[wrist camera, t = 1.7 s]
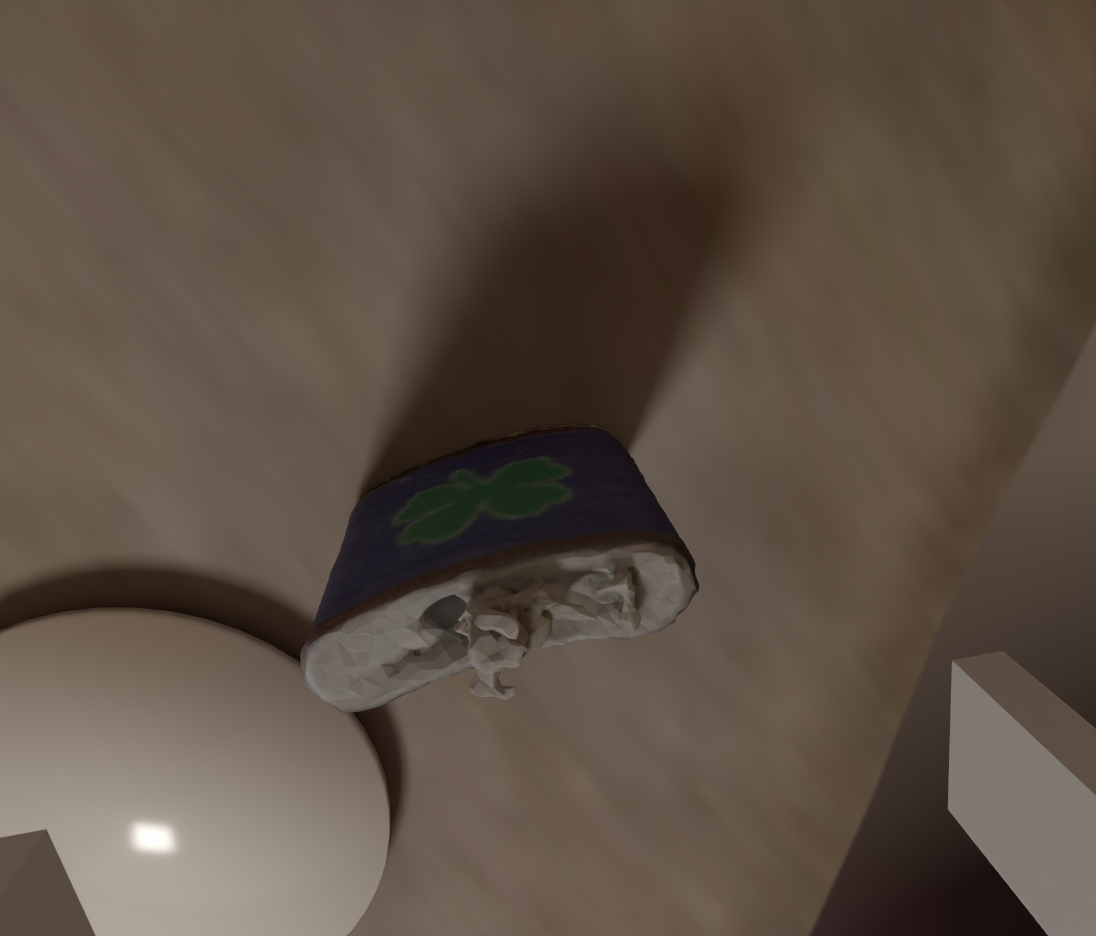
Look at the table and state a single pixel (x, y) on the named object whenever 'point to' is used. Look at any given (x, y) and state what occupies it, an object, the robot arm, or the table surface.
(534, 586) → the blue hip flask
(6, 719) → the plate
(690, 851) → the table surface
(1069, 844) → the robot arm
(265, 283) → the table surface
